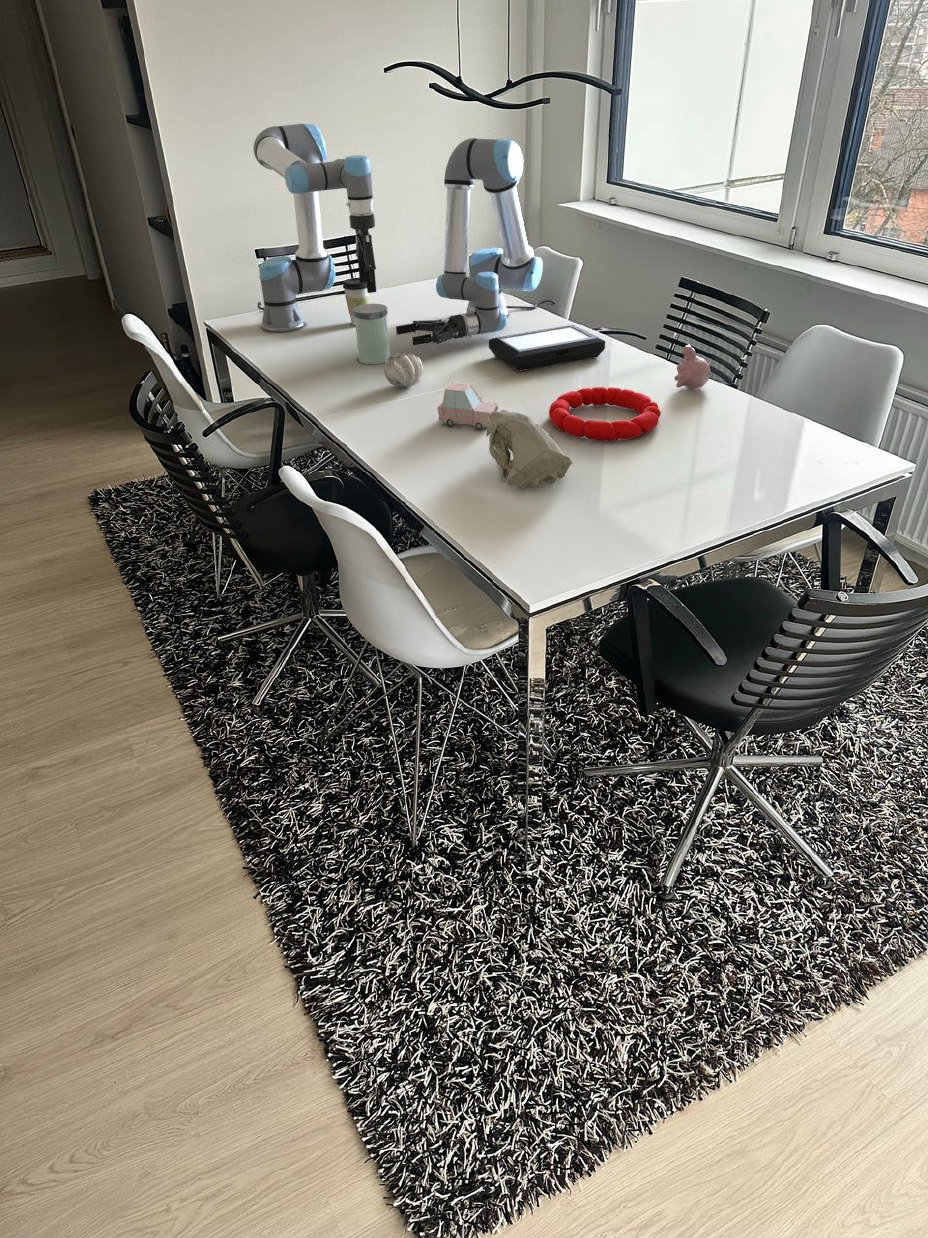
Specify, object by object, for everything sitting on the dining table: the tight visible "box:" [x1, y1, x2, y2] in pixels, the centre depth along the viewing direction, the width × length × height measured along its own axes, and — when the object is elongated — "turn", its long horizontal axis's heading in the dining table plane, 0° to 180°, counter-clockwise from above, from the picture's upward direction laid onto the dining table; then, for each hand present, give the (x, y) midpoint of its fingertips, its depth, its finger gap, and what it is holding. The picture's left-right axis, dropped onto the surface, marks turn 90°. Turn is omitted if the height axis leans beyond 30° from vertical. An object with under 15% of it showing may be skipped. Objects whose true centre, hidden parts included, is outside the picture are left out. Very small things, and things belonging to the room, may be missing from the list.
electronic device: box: [488, 324, 606, 372], centre depth 288 cm, size 32×6×20 cm
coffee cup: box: [342, 277, 370, 326], centre depth 323 cm, size 10×10×15 cm
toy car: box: [437, 382, 499, 431], centre depth 243 cm, size 9×15×10 cm, turn 70°
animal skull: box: [485, 409, 573, 489], centre depth 216 cm, size 17×25×20 cm
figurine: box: [674, 344, 711, 390], centre depth 259 cm, size 9×11×12 cm
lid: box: [353, 303, 389, 319], centre depth 285 cm, size 11×11×2 cm
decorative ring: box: [548, 386, 661, 442], centre depth 242 cm, size 7×30×30 cm
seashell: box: [383, 352, 424, 388], centre depth 268 cm, size 10×15×10 cm
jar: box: [355, 315, 390, 365], centre depth 289 cm, size 10×10×16 cm
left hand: (367, 287), depth 280 cm, fingers open, 12 cm apart
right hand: (404, 335), depth 293 cm, fingers open, 13 cm apart
